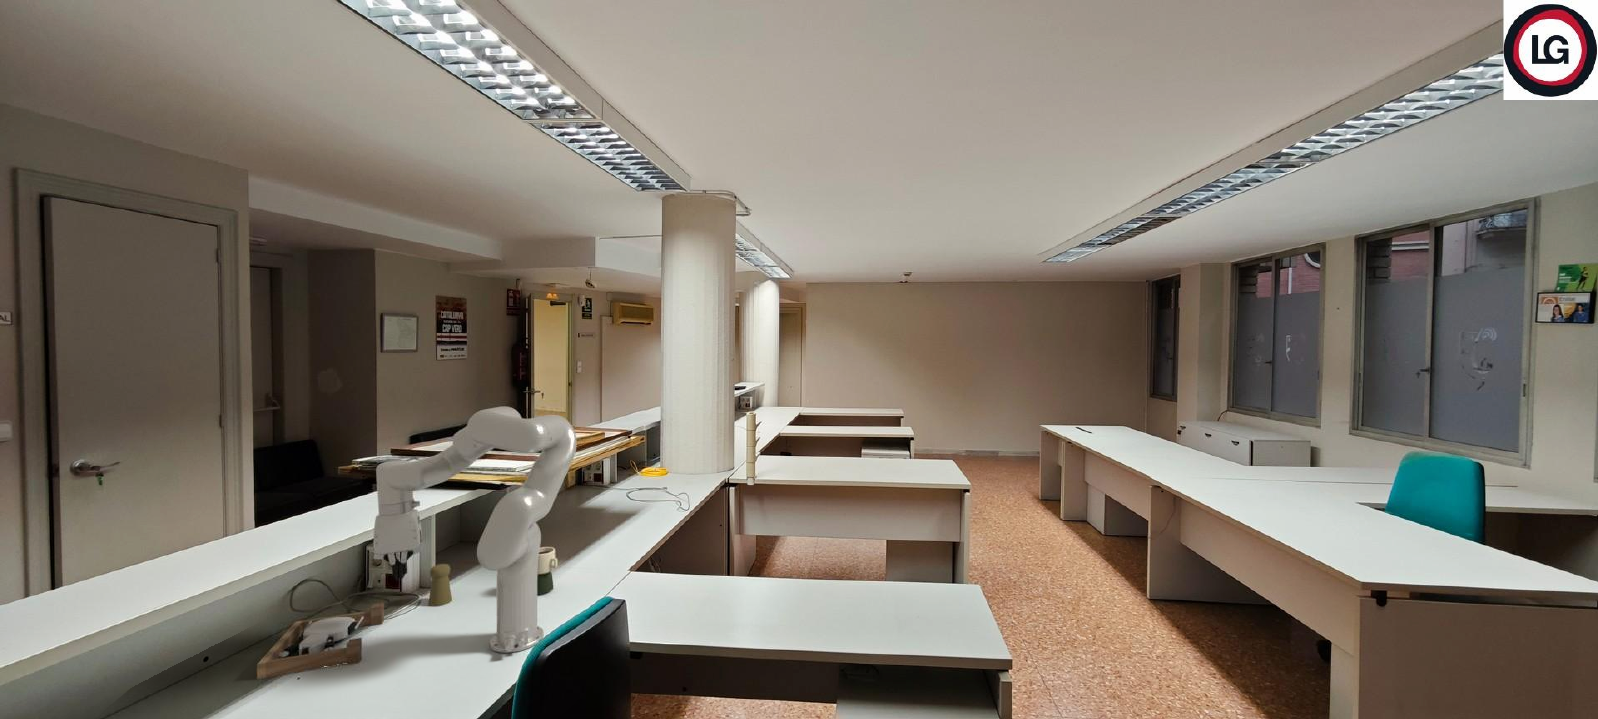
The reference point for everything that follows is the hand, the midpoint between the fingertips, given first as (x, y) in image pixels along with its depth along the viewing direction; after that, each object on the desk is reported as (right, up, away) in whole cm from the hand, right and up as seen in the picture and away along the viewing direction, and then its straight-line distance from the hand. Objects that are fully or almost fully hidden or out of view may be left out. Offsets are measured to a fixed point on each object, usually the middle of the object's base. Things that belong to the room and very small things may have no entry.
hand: (400, 577), depth 149 cm
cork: (-3, -16, +21) cm, 26 cm away
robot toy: (-16, -16, -5) cm, 23 cm away
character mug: (+25, -16, +28) cm, 41 cm away
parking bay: (-15, -16, -6) cm, 22 cm away
